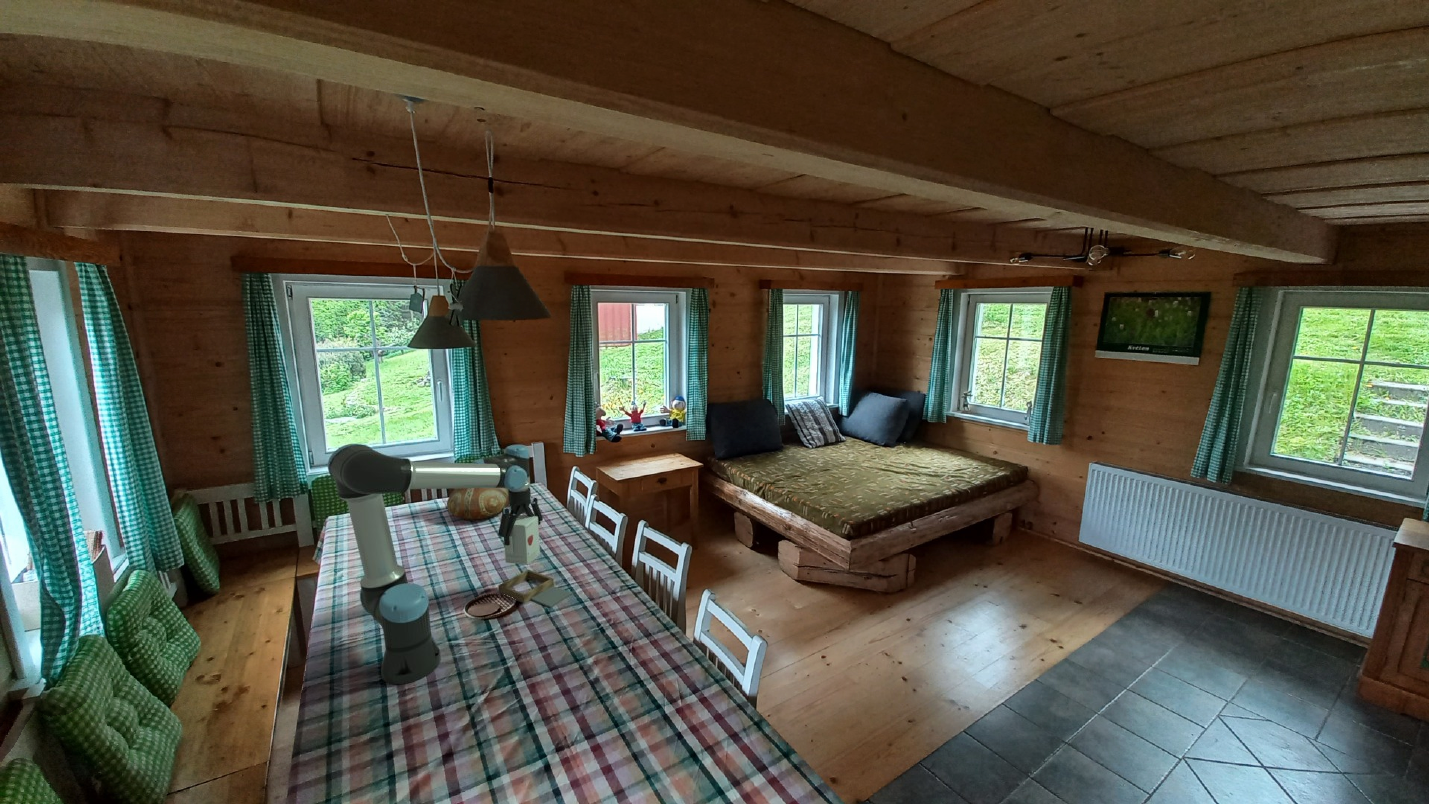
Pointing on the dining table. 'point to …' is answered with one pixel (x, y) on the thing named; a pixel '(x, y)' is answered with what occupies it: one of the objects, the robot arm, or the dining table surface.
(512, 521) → the robot arm
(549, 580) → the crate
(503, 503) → the jug
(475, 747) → the dining table surface
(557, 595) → the coaster
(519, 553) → the supplement box
